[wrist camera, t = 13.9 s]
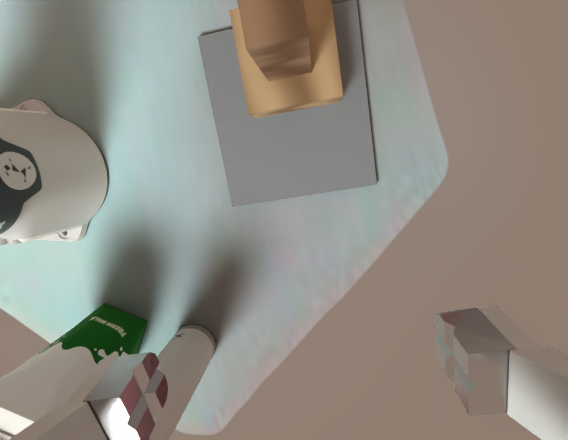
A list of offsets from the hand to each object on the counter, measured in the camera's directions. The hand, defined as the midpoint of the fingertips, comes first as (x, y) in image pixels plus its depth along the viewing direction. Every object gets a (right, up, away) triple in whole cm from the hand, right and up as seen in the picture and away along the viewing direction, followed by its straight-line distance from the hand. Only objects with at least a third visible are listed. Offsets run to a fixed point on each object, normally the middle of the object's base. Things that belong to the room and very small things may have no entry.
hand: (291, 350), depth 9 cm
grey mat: (0, +17, +28) cm, 32 cm away
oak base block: (0, +21, +26) cm, 34 cm away
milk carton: (-25, -13, +37) cm, 46 cm away
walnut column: (0, +21, +22) cm, 30 cm away
